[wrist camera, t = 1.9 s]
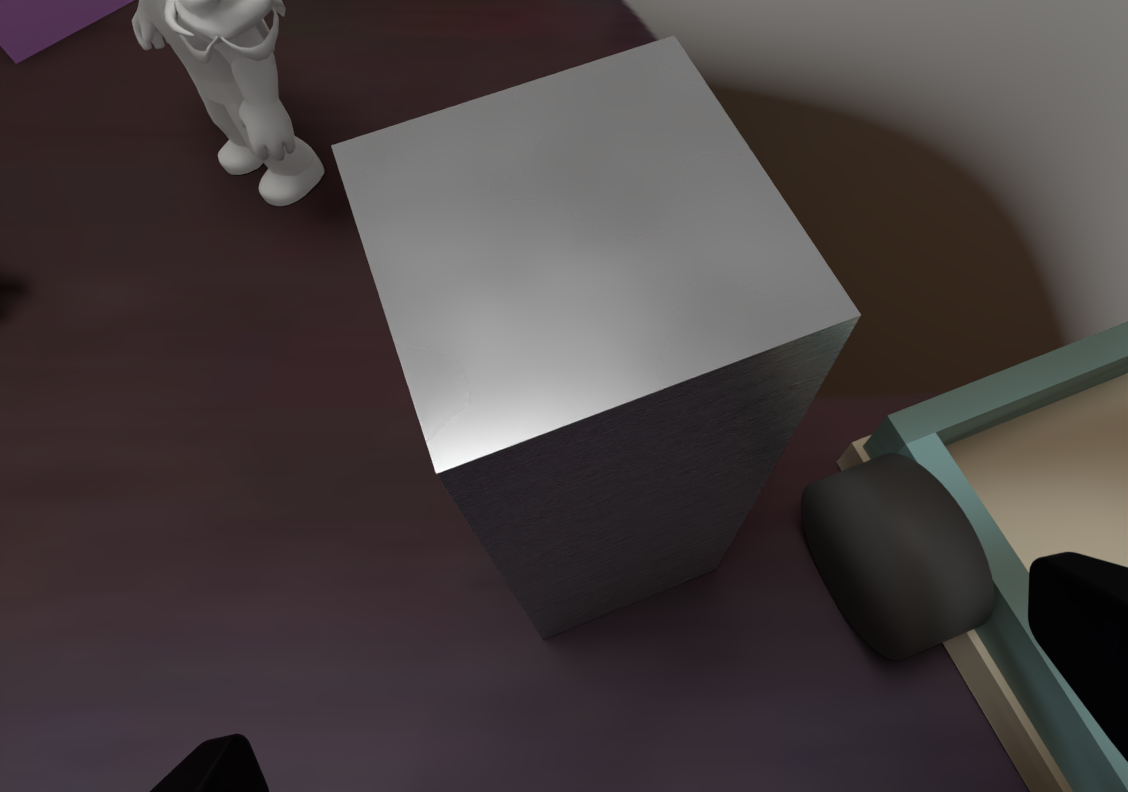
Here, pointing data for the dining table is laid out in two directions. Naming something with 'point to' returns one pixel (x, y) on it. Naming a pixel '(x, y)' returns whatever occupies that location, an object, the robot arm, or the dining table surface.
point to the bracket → (46, 22)
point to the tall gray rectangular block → (595, 321)
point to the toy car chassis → (988, 539)
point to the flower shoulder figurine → (236, 85)
